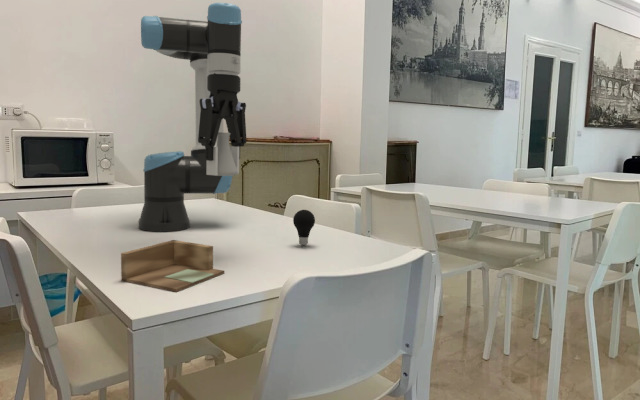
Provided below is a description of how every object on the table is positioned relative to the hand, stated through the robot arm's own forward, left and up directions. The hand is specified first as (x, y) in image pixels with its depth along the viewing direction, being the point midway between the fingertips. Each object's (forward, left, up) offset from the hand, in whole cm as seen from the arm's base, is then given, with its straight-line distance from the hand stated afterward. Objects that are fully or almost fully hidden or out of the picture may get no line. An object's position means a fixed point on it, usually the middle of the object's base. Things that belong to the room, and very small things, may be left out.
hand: (223, 174), depth 119 cm
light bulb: (+11, +22, -20) cm, 32 cm away
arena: (+2, -18, -20) cm, 27 cm away
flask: (0, 0, 0) cm, 0 cm away
